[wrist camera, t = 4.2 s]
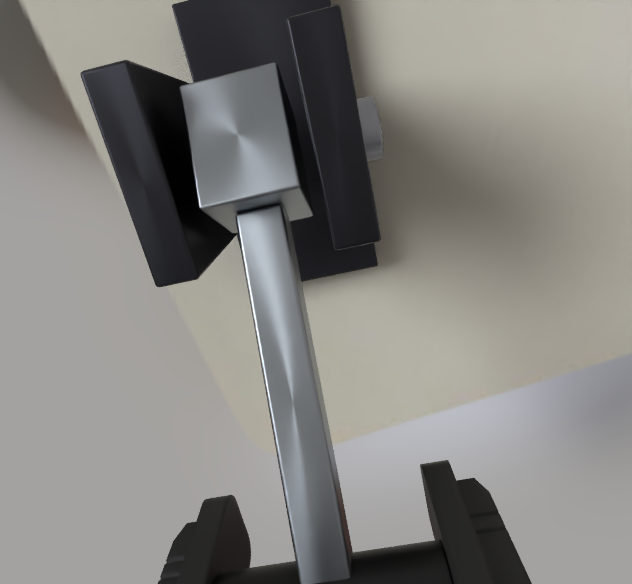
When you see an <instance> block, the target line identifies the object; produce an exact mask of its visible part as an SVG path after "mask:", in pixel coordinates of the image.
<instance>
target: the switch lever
mask: <svg viewBox="0 0 632 584" xmlns="http://www.w3.org/2000/svg"><path fill="white" fill-rule="evenodd" d="M179 91H180V97H181V103H182V109H183V115H184V121H185V127H186V133H187V139H188V145H189V151H190V157H191V163H192V168H193V174H194V180H195V186H196V192H197V198H198V204H199V208H200V210H202V211H203V212H204V213H206V214H207V215H208V216H210V217H211V218H212V219H214V220H215V221H216V222H218V223H219V224H220V225H222V226H223V227H225V228H226V229H227V230H229V231H230V232H231V233H238V236H239V242H240V247H241V253H242V259H243V264H244V270H245V276H246V281H247V287H248V293H249V298H250V304H251V310H252V315H253V321H254V327H255V332H256V338H257V344H258V349H259V355H260V361H261V366H262V372H263V378H264V383H265V389H266V395H267V400H268V406H269V412H270V417H271V423H272V429H273V434H274V440H275V446H276V451H277V457H278V462H279V468H280V474H281V480H282V485H283V491H284V496H285V502H286V508H287V514H288V519H289V525H290V530H291V536H292V542H293V547H294V552H295V559H296V561H293V562H286V563H280V564H273V565H266V566H260V567H253V568H246V569H239V570H233V571H226V572H221V573H219V574H218V575H217V576H216V578H215V579H214V581H213V584H454V583H453V579H452V575H451V571H450V567H449V564H448V560H447V557H446V553H445V550H444V547H443V544H442V542H441V541H440V540H435V541H428V542H421V543H414V544H408V545H401V546H395V547H388V548H381V549H374V550H367V551H361V552H355V553H353V552H352V546H351V541H350V536H349V530H348V525H347V520H346V515H345V509H344V504H343V499H342V494H341V488H340V483H339V478H338V473H337V467H336V462H335V457H334V451H333V446H332V441H331V436H330V430H329V425H328V420H327V414H326V409H325V404H324V399H323V393H322V388H321V383H320V378H319V372H318V367H317V362H316V356H315V351H314V346H313V341H312V335H311V330H310V325H309V320H308V314H307V309H306V304H305V298H304V293H303V288H302V283H301V277H300V272H299V267H298V262H297V256H296V251H295V246H294V241H293V235H292V230H291V225H290V221H293V220H298V219H302V218H307V217H311V216H313V208H312V203H311V198H310V193H309V188H308V183H307V178H306V173H305V168H304V162H303V157H302V152H301V147H300V142H299V137H298V132H297V127H296V122H295V117H294V113H293V110H292V107H291V104H290V101H289V98H288V95H287V92H286V89H285V86H284V82H283V79H282V76H281V73H280V70H279V67H278V65H277V63H270V64H266V65H262V66H258V67H254V68H250V69H246V70H242V71H238V72H234V73H230V74H226V75H222V76H218V77H214V78H210V79H206V80H202V81H198V82H194V83H190V84H186V85H182V86H180V88H179Z"/></svg>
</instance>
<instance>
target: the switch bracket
mask: <svg viewBox="0 0 632 584" xmlns="http://www.w3.org/2000/svg"><path fill="white" fill-rule="evenodd" d="M172 8H173V12H174V15H175V19H176V22H177V26H178V29H179V33H180V36H181V40H182V44H183V47H184V51H185V54H186V58H187V61H188V65H189V68H190V72H191V75H192V79H193V82H198V81H202V80H206V79H210V78H214V77H218V76H222V75H226V74H230V73H234V72H238V71H242V70H246V69H250V68H254V67H258V66H262V65H266V64H270V63H277V65H278V67H279V70H280V73H281V76H282V79H283V82H284V86H285V89H286V92H287V95H288V98H289V101H290V104H291V107H292V110H293V113H294V117H295V122H296V127H297V132H298V137H299V142H300V147H301V152H302V157H303V162H304V168H305V173H306V178H307V183H308V188H309V193H310V198H311V203H312V208H313V216H311V217H307V218H302V219H298V220H293V221H290V225H291V230H292V235H293V241H294V246H295V251H296V256H297V262H298V267H299V272H300V277H301V281H306V280H311V279H316V278H321V277H326V276H331V275H335V274H340V273H345V272H350V271H355V270H360V269H365V268H370V267H375V266H378V262H377V256H376V251H375V245H374V242H379V241H380V240H381V235H380V229H379V224H378V218H377V212H376V206H375V201H374V195H373V189H372V184H371V178H370V172H369V166H368V162H370V161H375V160H379V159H382V158H383V153H384V147H383V137H382V129H381V123H380V118H379V113H378V109H377V105H376V102H375V100H374V98H373V96H367V97H363V98H358V99H357V98H356V92H355V87H354V81H353V75H352V69H351V64H350V58H349V52H348V47H347V41H346V35H345V30H344V24H343V18H342V12H341V8H340V6H339V5H334V6H331V3H330V0H188V1H184V2H180V3H177V4H173V5H172ZM81 78H82V81H83V83H84V86H85V89H86V92H87V95H88V97H89V100H90V103H91V106H92V109H93V111H94V114H95V117H96V120H97V123H98V125H99V128H100V131H101V134H102V137H103V139H104V142H105V145H106V148H107V150H108V153H109V156H110V159H111V162H112V164H113V167H114V170H115V173H116V176H117V178H118V181H119V184H120V187H121V190H122V192H123V195H124V198H125V201H126V204H127V206H128V209H129V212H130V215H131V218H132V220H133V223H134V226H135V229H136V231H137V234H138V237H139V240H140V242H141V245H142V248H143V251H144V254H145V257H146V259H147V262H148V265H149V268H150V270H151V273H152V276H153V279H154V282H155V284H156V286H157V287H163V286H168V285H173V284H178V283H182V282H187V281H192V280H197V279H198V278H199V277H200V276H201V275H202V274H203V273H204V271H205V270H206V269H207V268H208V267H209V266H210V264H211V263H212V262H213V261H214V260H215V259H216V258H217V256H218V255H219V254H220V253H221V252H222V251H223V250H224V248H225V247H226V246H227V245H228V244H229V243H230V242H231V240H232V239H233V238H234V237H235V236H236V235H237V238H238V241H239V236H238V233H231V232H230V231H229V230H227V229H226V228H225V227H223V226H222V225H220V224H219V223H218V222H216V221H215V220H214V219H212V218H211V217H210V216H208V215H207V214H206V213H204V212H203V211H202V210H200V208H199V204H198V198H197V192H196V186H195V180H194V174H193V168H192V163H191V157H190V151H189V145H188V139H187V133H186V127H185V121H184V115H183V109H182V103H181V97H180V91H179V88H180V86H182V85H186V84H189V83H187V82H184V81H181V80H179V79H176V78H173V77H171V76H168V75H165V74H163V73H160V72H158V71H155V70H152V69H150V68H147V67H144V66H142V65H139V64H136V63H134V62H131V61H128V60H123V61H119V62H115V63H112V64H108V65H104V66H100V67H96V68H92V69H88V70H85V71H83V72H81ZM239 245H240V242H239ZM240 248H241V247H240Z"/></svg>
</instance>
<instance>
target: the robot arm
mask: <svg viewBox="0 0 632 584" xmlns="http://www.w3.org/2000/svg"><path fill="white" fill-rule="evenodd" d="M420 467H421V474H422V479H423V485H424V491H425V496H426V502H427V508H428V513H429V517H430V522H431V526H432V530H433V534H434V538H435V540H440V541H441V542H442V544H443V547H444V550H445V553H446V557H447V560H448V564H449V567H450V571H451V575H452V579H453V583H454V584H532V583H531V581H530V579H529V577H528V575H527V572H526V570H525V568H524V566H523V564H522V562H521V560H520V557H519V555H518V553H517V551H516V549H515V547H514V544H513V542H512V540H511V538H510V536H509V533H508V531H507V530H506V528H505V525H504V523H503V521H502V518H501V516H500V514H499V513H498V510H497V508H496V505H495V503H494V501H493V499H492V497H491V494H490V493H489V491H488V490H487V489H485V488H484V487H483V486H482V485H481V484H480V483H479V482H478V481H477V480H476V479H475V478H470V479H464V480H458V481H456V479H455V476H454V474H453V471H452V468H451V466H450V463H449V461H448V460H445V461H439V462H433V463H426V464H421V465H420ZM250 559H251V548H250V540H249V536H248V533H247V530H246V527H245V524H244V522H243V519H242V516H241V513H240V510H239V507H238V504H237V502H236V499H235V497H234V496H233V495H228V496H222V497H216V498H210V499H206V500H204V502H203V504H202V506H201V509H200V513H199V516H198V519H197V522H191V523H187V524H186V525H185V527H184V528H183V529H182V531H181V532H180V533H179V535H178V536H177V537H176V538H175V540H174V541H173V544H172V547H171V549H170V552H169V555H168V557H167V560H166V561H167V563H166V564H165V565H164V568H163V571H162V574H161V580H160V581H159V582H158V584H213V581H214V579H215V578H216V576H217V575H218V574H219V573H221V572H226V571H233V570H239V569H246V568H249V567H250Z"/></svg>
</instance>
